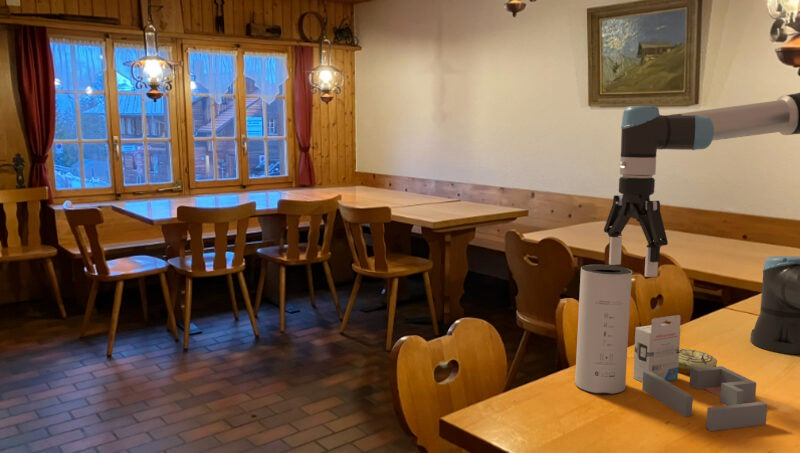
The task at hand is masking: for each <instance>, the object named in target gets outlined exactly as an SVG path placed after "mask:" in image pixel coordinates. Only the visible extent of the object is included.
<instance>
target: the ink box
mask: <svg viewBox="0 0 800 453" xmlns="http://www.w3.org/2000/svg"><path fill="white" fill-rule="evenodd" d="M666 322H670V323H669V324H668V323H666ZM634 335H635V336H634V350H633V351H634V356H633V376H632V377H633V379H635V380H636V381H639V382H641V383H643V372H646V371H650V372H652V373H654V374H655V375H657V376H659V377H661V378H662V379H664V380H666V381H668V382H671V381H676V380H678V377H679V375H678V374H679V372H678V362H679V349H680V345H681V344H680V342H681V341H680V340H681V315H679V314H677V315H670V316H662V317H654V318H653V319H651V324H650V325H645V326H636V327H635V334H634Z"/></svg>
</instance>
